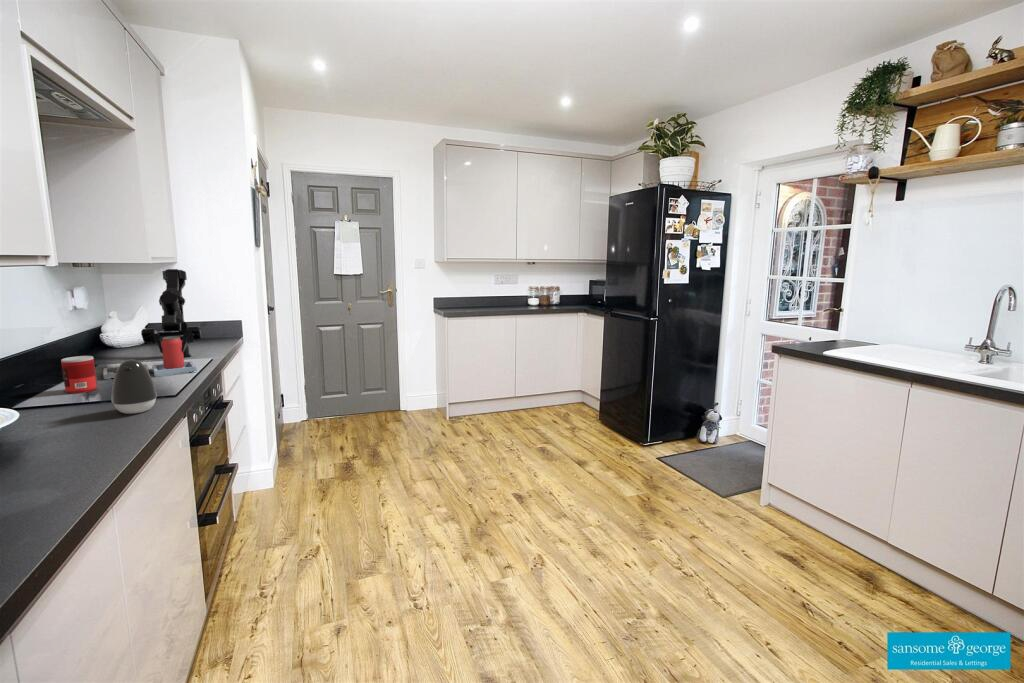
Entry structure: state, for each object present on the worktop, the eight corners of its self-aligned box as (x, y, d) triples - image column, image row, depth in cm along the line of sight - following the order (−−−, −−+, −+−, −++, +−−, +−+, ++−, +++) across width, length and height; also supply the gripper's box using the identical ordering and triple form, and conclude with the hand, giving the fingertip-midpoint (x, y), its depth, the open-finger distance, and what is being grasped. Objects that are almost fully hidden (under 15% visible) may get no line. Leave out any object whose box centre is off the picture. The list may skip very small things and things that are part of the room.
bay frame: (104, 373, 181) (103, 368, 181) (147, 368, 189) (146, 364, 189) (104, 380, 171) (103, 374, 171) (149, 375, 179) (148, 369, 179)
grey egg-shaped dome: (107, 418, 130) (100, 364, 128) (120, 408, 140) (114, 357, 137) (152, 414, 134) (146, 362, 132) (162, 404, 144) (157, 355, 141)
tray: (152, 370, 186) (152, 365, 186) (192, 366, 195) (191, 361, 194) (155, 377, 177) (154, 371, 176) (196, 372, 185) (196, 366, 184)
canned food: (103, 387, 161) (99, 356, 159) (80, 394, 153) (75, 360, 151) (83, 387, 162) (78, 355, 160) (58, 393, 154) (54, 360, 152)
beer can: (167, 370, 181) (164, 339, 179) (161, 367, 185) (157, 337, 183) (187, 367, 186) (184, 337, 184) (180, 365, 190) (177, 335, 188)
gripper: (139, 307, 180) (137, 341, 173) (197, 306, 190) (198, 337, 182) (144, 325, 188) (143, 358, 181) (200, 323, 198) (201, 354, 190)
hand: (172, 351), depth 183 cm, fingers closed on beer can, 6 cm apart
